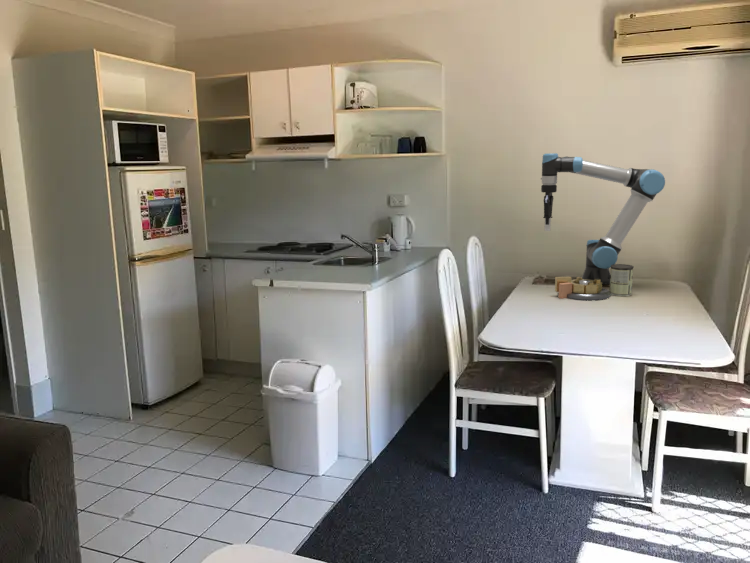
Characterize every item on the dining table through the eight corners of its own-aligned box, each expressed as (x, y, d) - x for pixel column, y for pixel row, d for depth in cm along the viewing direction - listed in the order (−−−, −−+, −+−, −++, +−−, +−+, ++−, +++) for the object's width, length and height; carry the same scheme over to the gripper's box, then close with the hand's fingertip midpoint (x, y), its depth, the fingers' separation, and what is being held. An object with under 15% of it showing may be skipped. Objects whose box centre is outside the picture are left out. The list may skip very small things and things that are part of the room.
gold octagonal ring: (592, 286, 312) (593, 272, 311) (606, 293, 298) (607, 278, 296) (549, 288, 310) (550, 274, 309) (561, 294, 296) (562, 280, 294)
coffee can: (606, 291, 311) (608, 264, 308) (628, 291, 310) (629, 264, 307) (612, 296, 301) (614, 267, 298) (634, 296, 300) (636, 267, 297)
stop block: (568, 296, 302) (568, 282, 301) (571, 297, 300) (572, 283, 299) (558, 297, 300) (559, 283, 298) (561, 298, 298) (562, 284, 296)
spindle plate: (599, 289, 317) (599, 275, 315) (618, 299, 293) (619, 285, 292) (552, 290, 316) (552, 276, 315) (567, 301, 293) (568, 286, 291)
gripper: (544, 183, 322) (542, 229, 326) (538, 185, 310) (537, 231, 315) (559, 183, 318) (557, 229, 323) (554, 185, 307) (552, 232, 312)
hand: (547, 230), depth 319 cm, fingers closed
